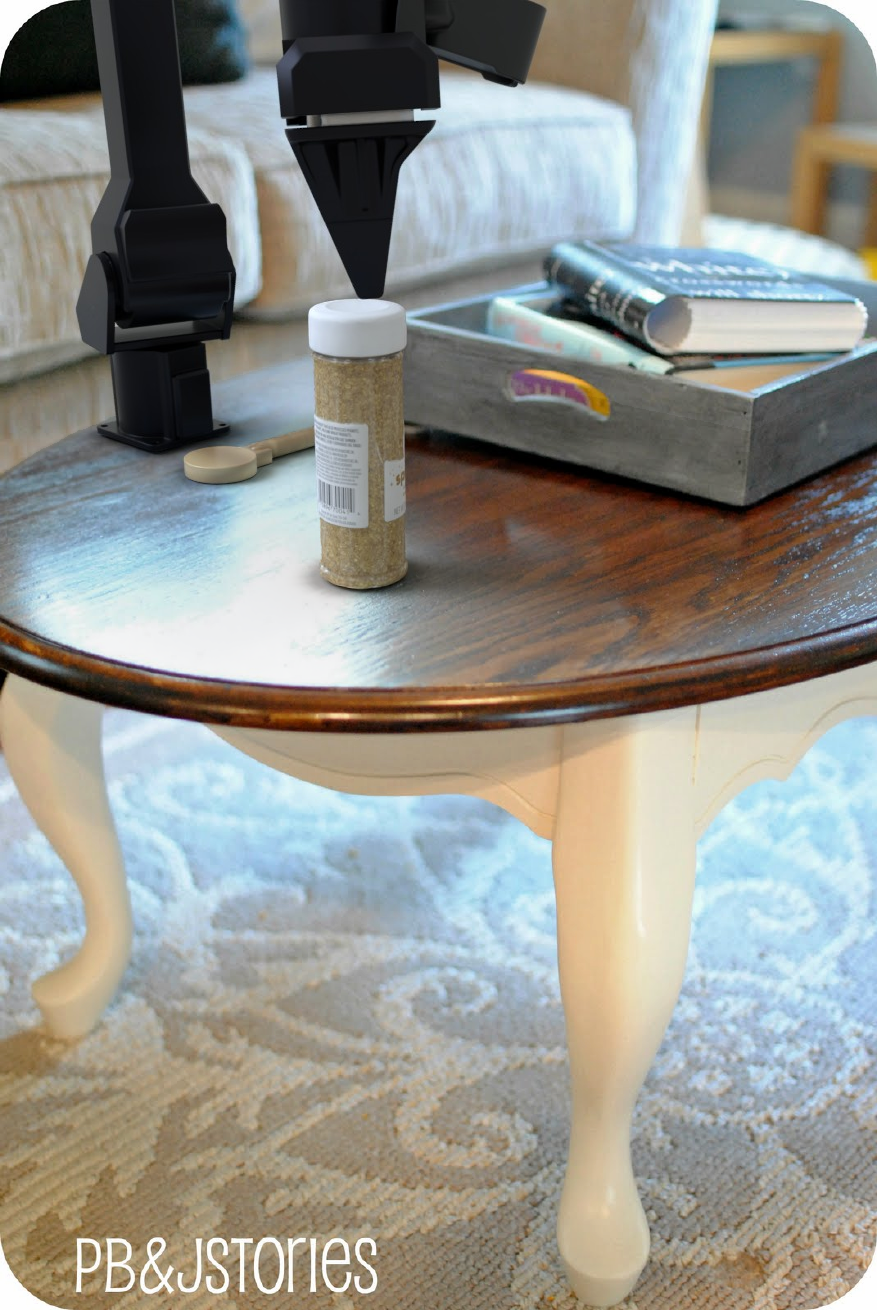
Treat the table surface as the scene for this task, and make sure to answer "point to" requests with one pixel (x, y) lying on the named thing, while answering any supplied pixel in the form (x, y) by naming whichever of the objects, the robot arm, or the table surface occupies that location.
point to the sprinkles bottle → (360, 440)
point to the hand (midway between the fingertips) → (366, 288)
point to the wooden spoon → (242, 457)
